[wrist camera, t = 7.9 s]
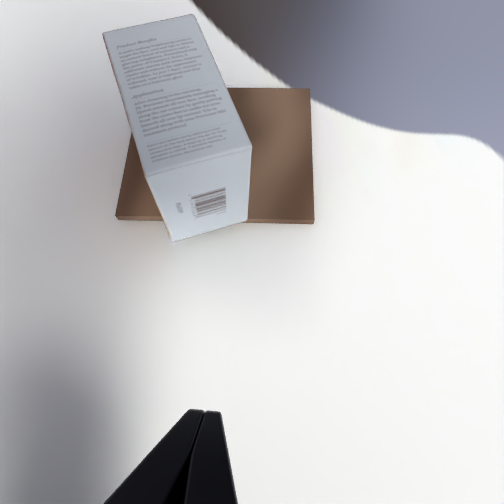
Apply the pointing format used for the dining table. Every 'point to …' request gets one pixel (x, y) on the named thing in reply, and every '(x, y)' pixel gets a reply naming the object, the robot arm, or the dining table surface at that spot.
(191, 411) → the robot arm
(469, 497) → the dining table surface
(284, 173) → the walnut board
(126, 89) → the small box
